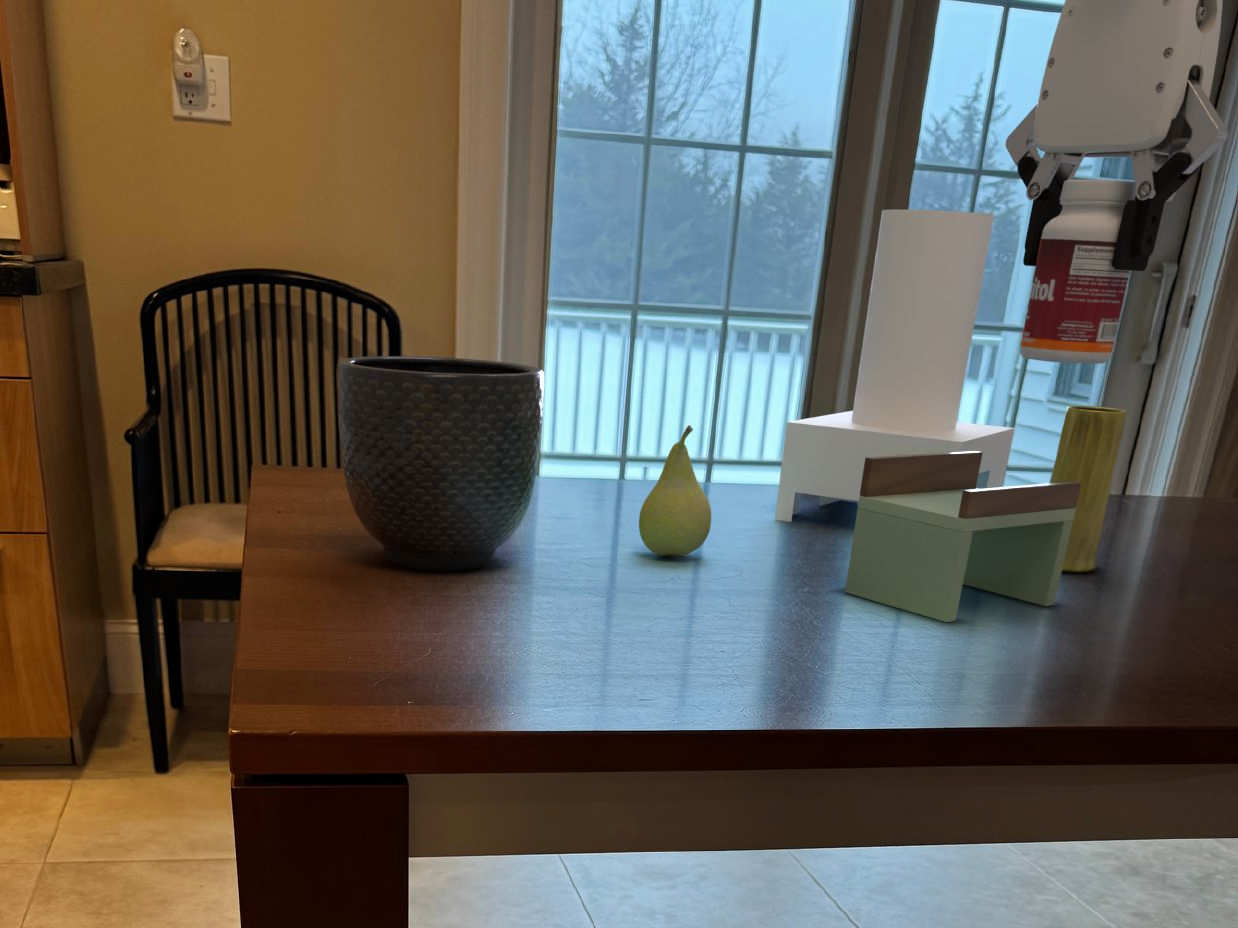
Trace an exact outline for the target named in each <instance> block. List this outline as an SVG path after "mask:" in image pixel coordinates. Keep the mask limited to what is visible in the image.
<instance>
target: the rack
mask: <svg viewBox="0 0 1238 928" xmlns="http://www.w3.org/2000/svg"><path fill="white" fill-rule="evenodd" d="M982 454H983V453H982V452H978V451H969V452H951V453H934V454H917V455H899V456H882V457H866V458H865V463H864V470H863V476H862V483H861V490H860V496H859V501H858V504H857V509H856V517H855V524H854V530H853V535H852V543H851V549H850V557H849V563H848V569H847V576H846V582H845V589H844V593H846V594H849V595H853V596H856V597H860V598H863V599H866V600H870V601H873V602H876V603H879V604H883V605H886V606H889V607H892V608H897V609H900V610H903V611H907V612H909V613H912V614H913V613H914V614H917V615H920V616H924V617H925V618H926V617H927V618H930V619H934V620H937V621H941V622H944V623H951V622H955V621H956V620H957V616H958V610H959V606H960V600H961V595H962V590H963V585H965V586H968V587H971V588H975V589H979V590H983V591H986V592H990V593H994V594H998V595H1001V596H1006V597H1009V598H1013V599H1016V600H1019V601H1024V602H1028V603H1032V604H1035V605H1039V606H1043V607H1049V606H1054V605H1055V602H1056V598H1057V593H1058V589H1059V585H1060V582H1061V581H1060V580H1061V576H1062V573H1063V572H1062V567H1063V563H1064V559H1065V554H1066V550H1067V545H1068V541H1069V537H1070V532H1071V528H1072V524H1073V519H1074V514H1075V510H1076V506H1077V501H1078V497H1079V493H1080V488H1081V484H1082V483H1081V482H1075V481H1071V482H1059V483H1050V482H1048V483H1035V484H1025V485H1024V484H1023V485H1012V486H1003V487H998V488H986V489H977V488H976V485H977V480H978V474H979V469H980V464H981V459H982Z"/></svg>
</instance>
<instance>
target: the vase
mask: <svg viewBox="0 0 1238 928" xmlns="http://www.w3.org/2000/svg"><path fill="white" fill-rule="evenodd" d="M1127 413H1128V411H1127V410H1125V409H1121V408H1116V407H1106V406H1096V405H1068V406H1067V407H1066V410H1065V414H1064V419H1063V420H1064V421H1063V424H1062V428H1061V433H1060V436H1059V441H1058V445H1057V449H1056V455H1055V460H1054V464H1053V468H1052V472H1051V476H1050V480H1049V483H1059V482H1071V481H1075V482H1081V483H1082V484H1081V488H1080V493H1079V497H1078V501H1077V506H1076V510H1075V514H1074V519H1073V524H1072V528H1071V532H1070V537H1069V541H1068V545H1067V550H1066V554H1065V559H1064V563H1063V567H1062V572H1061V573H1074V574H1076V573H1077V574H1078V573H1079V574H1080V573H1089V572H1092V571H1094V570H1095V569H1096V555H1097V551H1098V546H1099V543H1100V539H1101V535H1102V532H1103V526H1104V523H1105V518H1106V513H1107V507H1108V503H1109V498H1110V494H1111V489H1112V484H1113V478H1114V474H1115V470H1116V464H1117V460H1118V455H1119V450H1120V446H1121V442H1122V439H1123V434H1124V430H1125V424H1126V419H1127Z"/></svg>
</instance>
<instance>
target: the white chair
mask: <svg viewBox="0 0 1238 928" xmlns="http://www.w3.org/2000/svg"><path fill="white" fill-rule="evenodd" d="M994 219H995V214H991V213H985V212H970V211H955V210H933V209H882V211H881V217H880V224H879V230H878V237H877V245H876V251H875V259H874V265H873V271H872V278H871V286H870V292H869V299H868V306H867V313H866V320H865V327H864V332H863V339H862V347H861V353H860V361H859V367H858V374H857V381H856V388H855V395H854V401H853V409H852V410H849V411H844V412H836V413H830V414H825V415H820V416H814V417H808V418H803V419H796V420H790V421H786V426H785V432H784V433H785V434H784V441H783V442H784V443H783V449H782V457H781V466H780V473H779V482H778V490H777V499H776V507H775V508H776V509H775V515H774V520H775V521H781V522H788V523H792V520H793V519H792V518H793V515H795V514H798V513H800V508H801V507H800V506H801V499H802V494H803V495H804V494H806V495H811V496H818V497H819V498H818V505H817V506H818V507H821V506H824V505H828V504H830V503H834V502H838V501H845V502H852V503H856V502H859V496H860V490H861V483H862V476H863V470H864V463H865V458H866V457H882V456H899V455H917V454H934V453H951V452H969V451H978V452H982V453H983V454H982V459H981V464H980V469H979V474H978V480H977V485H976V488H977V489H986V488H998V487H1004V482H1005V478H1006V473H1007V468H1008V463H1009V458H1010V454H1011V448H1012V443H1013V437H1014V433H1015V427H1008V426H1000V425H999V426H998V425H991V424H990V425H989V424H981V423H972V422H963V421H958V417H959V412H960V407H961V406H960V405H961V400H962V395H963V389H964V384H965V378H966V372H967V368H968V361H969V357H970V351H971V345H972V340H973V334H974V329H975V323H976V318H977V312H978V307H979V301H980V296H981V291H982V285H983V279H984V273H985V268H986V262H987V257H988V253H989V251H988V250H989V246H990V240H991V235H992V229H993V224H994Z"/></svg>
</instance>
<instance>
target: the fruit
mask: <svg viewBox="0 0 1238 928" xmlns="http://www.w3.org/2000/svg"><path fill="white" fill-rule="evenodd" d="M693 430H694V429H693V427H692V425H690V424H689V425H687V426H686V428H685V430H684V432H683V433H682V436H681V437H680V440H679V441H677V442H675V443H674V444H672V447H671V449H670V450H669V452H668V455H667V457H666V459H665V463H664V465H663V468H662V471H661V474H660V476H659V478H658V480H657V481H656V484H655V485H654V487H653V488H652V489H651V491H650V492H649V494H648V495H647V497H646V498H645V499H644V501H643V503H642V506H641V508H640V511H639V516H638V517H639V518H638V530H639V536H640V538H641V541H642V543H643V544H644V546H645V547H646V548H647V549H648V550H649V551H650V552H652V553H653V554H655V555H657V556H662V557H669V558H676V557H679V558H682V559H683V558H685V556H687V555H689V554H691V553H693V552H695V551H696V550H697V549H699V548H700V547H701V546H702V545H703V544H704V543H705V542H706V540H707V538H708V536H709V534H710V531H711V525H712V508H711V504H710V501H709V499H708V497H707V494H706V493H705V492H704V490H703V488H702V487H701V485H700V483H699V481H698V479H697V476H696V474H695V471H694V468H693V464H692V461H691V458H690V455H689V451H688V448H687V445H686V444H685V443H686V438H688V436H689V435H690V434H691V433H692V432H693Z"/></svg>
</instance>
